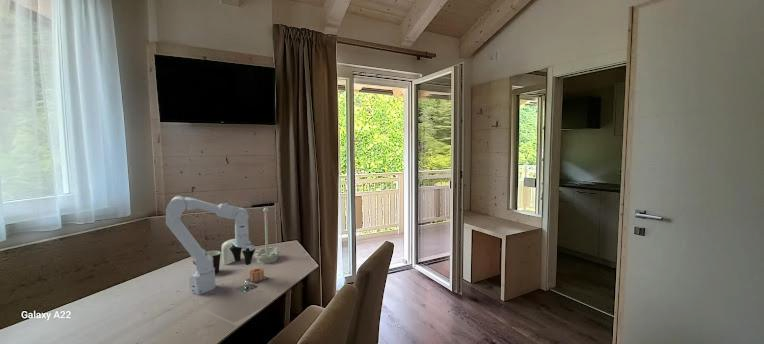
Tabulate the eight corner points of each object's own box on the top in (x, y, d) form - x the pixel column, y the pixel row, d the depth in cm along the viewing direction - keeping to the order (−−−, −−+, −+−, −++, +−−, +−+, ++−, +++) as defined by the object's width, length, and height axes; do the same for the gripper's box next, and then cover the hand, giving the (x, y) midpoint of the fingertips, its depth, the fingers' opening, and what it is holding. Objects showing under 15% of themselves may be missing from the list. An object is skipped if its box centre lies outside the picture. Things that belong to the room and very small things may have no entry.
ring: (249, 281, 144) (249, 273, 144) (251, 276, 150) (251, 268, 150) (263, 280, 146) (262, 272, 146) (264, 275, 152) (264, 267, 151)
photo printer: (226, 265, 168) (225, 243, 167) (220, 264, 169) (219, 242, 168) (241, 259, 177) (240, 237, 176) (235, 258, 179) (234, 237, 178)
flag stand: (253, 258, 179) (251, 206, 176) (277, 254, 185) (275, 204, 182) (256, 265, 167) (254, 210, 165) (281, 261, 173) (280, 208, 171)
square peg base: (256, 286, 143) (255, 276, 143) (246, 282, 147) (245, 273, 146) (268, 280, 149) (268, 271, 149) (258, 277, 153) (258, 268, 153)
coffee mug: (224, 269, 162) (224, 251, 161) (214, 276, 154) (213, 256, 153) (204, 268, 163) (203, 250, 162) (192, 275, 155) (191, 256, 154)
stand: (245, 294, 135) (244, 285, 135) (234, 291, 138) (234, 282, 138) (258, 288, 141) (258, 279, 141) (248, 284, 144) (248, 276, 144)
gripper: (259, 234, 144) (260, 262, 145) (239, 230, 151) (240, 257, 152) (246, 238, 138) (247, 268, 139) (226, 233, 145) (227, 261, 146)
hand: (242, 262), depth 145 cm, fingers open, 7 cm apart
